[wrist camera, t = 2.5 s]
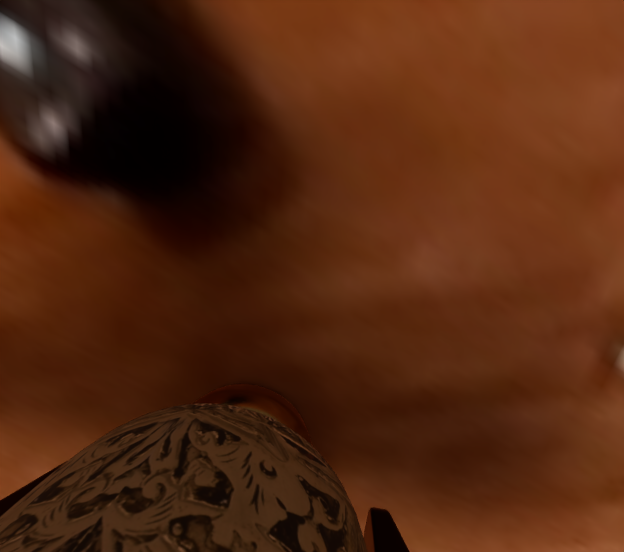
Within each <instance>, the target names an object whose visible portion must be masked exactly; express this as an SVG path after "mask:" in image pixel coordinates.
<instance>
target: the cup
mask: <svg viewBox="0 0 624 552" xmlns="http://www.w3.org/2000/svg"><path fill="white" fill-rule="evenodd" d="M0 552H368V551H367V548H366V544H365V541H364V538H363V535H362V531H361V528H360V525H359V522H358V519H357V515H356V512H355V510H354V508H353V506H352V504H351V502H350V500H349V498H348V496H347V493H346V491H345V489H344V487H343V485H342V483H341V482H340V480H339V479H338V477H337V475H336V474H335V472H334V471H333V470H332V468H331V467H330V466H329V464H328V463H327V462H326V461H325V459H324V458H323V457H322V456H321V454H320V453H319V452H318V451H317V450H316V449H315V448H314V447H313V446H312V443H311V439H310V436H309V433H308V430H307V427H306V425H305V423H304V421H303V419H302V417H301V416H300V414H299V412H298V411H297V410H296V409H295V407H294V406H293V405H292V404H291V403H290V402H289V401H288V400H286V399H285V398H284V397H282V396H281V395H279V394H278V393H276V392H274V391H272V390H269V389H267V388H264V387H261V386H257V385H251V384H233V385H228V386H224V387H220V388H218V389H216V390H213V391H211V392H209V393H208V394H206V395H204V396H202V397H201V398H199V399H198V400H196V401H195V402H194V403H193V404H185V405H180V406H174V407H170V408H166V409H162V410H158V411H155V412H151V413H148V414H146V415H143V416H141V417H139V418H136V419H134V420H132V421H130V422H128V423H126V424H124V425H121V426H119V427H117V428H116V429H114V430H112V431H111V432H109V433H107V434H106V435H104V436H103V437H101V438H100V439H98V440H97V441H95V442H94V443H92V444H91V445H89V446H88V447H86V448H85V449H83V450H82V451H80V452H79V453H78V454H76V455H75V456H74V457H73V458H71V459H70V460H69V461H67V462H66V463H65V464H63V465H62V466H61V467H60V468H58V469H57V470H56V471H54V472H53V473H52V474H51V475H49V476H48V477H47V478H46V479H45V480H43V481H42V482H41V483H40V484H39V485H37V486H36V487H35V488H34V489H33V490H31V491H30V492H29V493H28V494H27V495H25V496H24V497H23V498H22V499H21V500H19V501H18V502H17V503H16V504H15V505H13V506H12V507H11V508H10V509H9V510H7V511H6V512H5V513H4V514H3V515H2V516H0Z"/></svg>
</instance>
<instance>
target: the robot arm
mask: <svg viewBox="0 0 624 552" xmlns="http://www.w3.org/2000/svg"><path fill="white" fill-rule="evenodd" d="M66 462H67V461H66ZM66 462H64V463H63V464H65V463H66ZM63 464H61V465H59V466H58V467H56V468H54V469H53V470H51V471H49V472H48V473H46V474H44V475H42V476H41V477H39V478H37V479H36V480H34V481H32V482H31V483H29V484H27V485H26V486H24V487H22V488H21V489H19V490H17V491H16V492H14V493H12V494H11V495H9V496H7V497H5V498H4V499H2V500H0V516H2V515H3V514H4V513H5V512H6V511H7V510H9V509H10V508H11V507H12V506H13V505H15V504H16V503H17V502H18V501H19V500H21V499H22V498H23V497H24V496H25V495H27V494H28V493H29V492H30V491H31V490H33V489H34V488H35V487H36V486H37V485H39V484H40V483H41V482H42V481H43V480H45V479H46V478H47V477H48V476H49V475H51V474H52V473H53V472H54V471H56V470H57V469H58V468H60V467H61V466H62V465H63ZM364 541H365V544H366V548H367V551H368V552H409V550H408V548H407V546H406V544H405V542H404V540H403V538H402V536H401V534H400V532H399V530H398V528H397V526H396V524H395V522H394V520H393V518H392V516H391V515H390V513H389V512H388V511H387V510H385V509H380V508H370V510H369V512H368V517H367V522H366V526H365V531H364Z"/></svg>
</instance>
